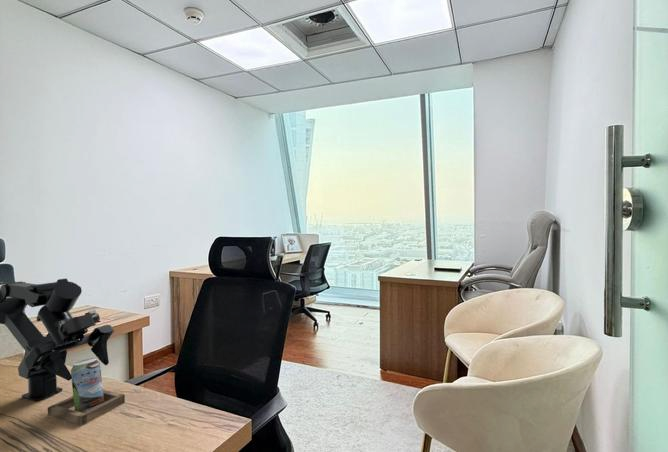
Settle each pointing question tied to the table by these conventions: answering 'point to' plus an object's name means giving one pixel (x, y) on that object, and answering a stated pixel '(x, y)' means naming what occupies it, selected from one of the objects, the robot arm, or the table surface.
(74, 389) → the beverage can
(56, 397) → the table surface
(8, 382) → the table surface
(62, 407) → the walnut collar
